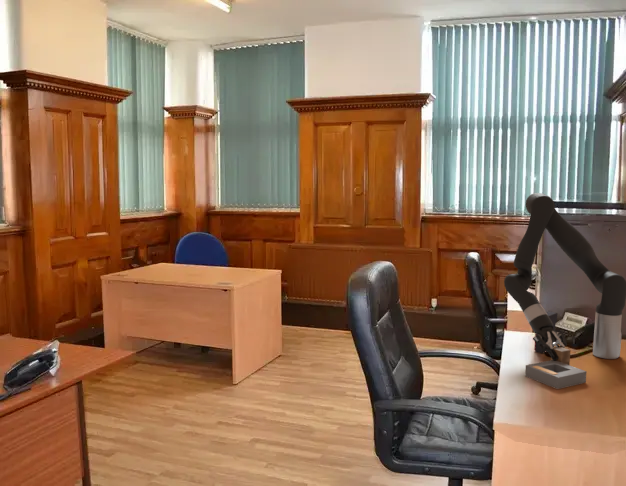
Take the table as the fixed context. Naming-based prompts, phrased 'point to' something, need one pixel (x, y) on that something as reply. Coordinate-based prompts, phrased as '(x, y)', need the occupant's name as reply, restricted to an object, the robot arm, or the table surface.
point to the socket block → (555, 374)
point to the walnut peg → (562, 355)
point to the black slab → (554, 319)
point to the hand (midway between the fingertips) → (561, 358)
